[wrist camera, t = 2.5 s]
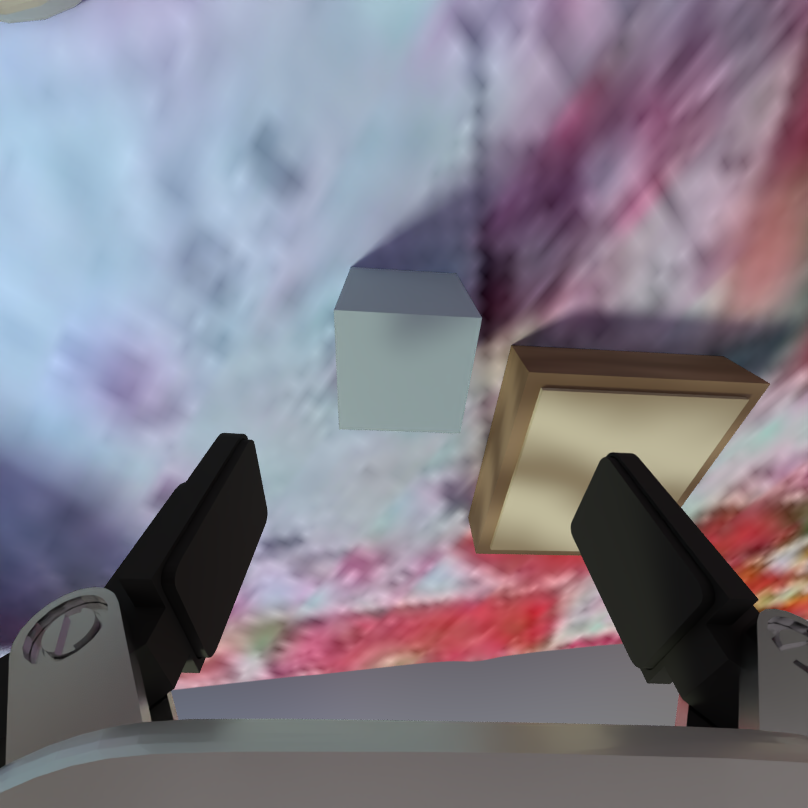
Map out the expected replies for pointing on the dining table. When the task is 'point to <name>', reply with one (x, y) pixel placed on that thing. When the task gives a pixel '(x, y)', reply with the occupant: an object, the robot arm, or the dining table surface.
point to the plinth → (597, 434)
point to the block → (404, 350)
